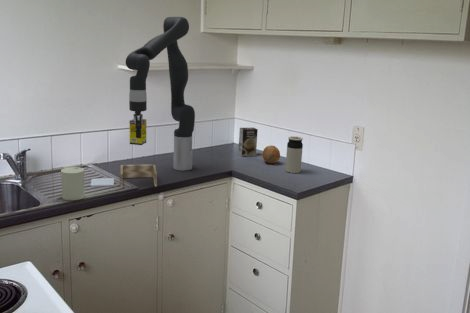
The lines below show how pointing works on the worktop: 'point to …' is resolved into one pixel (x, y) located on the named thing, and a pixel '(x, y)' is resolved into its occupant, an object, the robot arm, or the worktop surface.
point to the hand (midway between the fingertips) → (138, 135)
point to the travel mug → (294, 154)
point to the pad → (102, 182)
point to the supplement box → (133, 133)
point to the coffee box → (247, 142)
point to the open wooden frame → (138, 172)
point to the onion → (271, 154)
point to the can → (72, 183)
